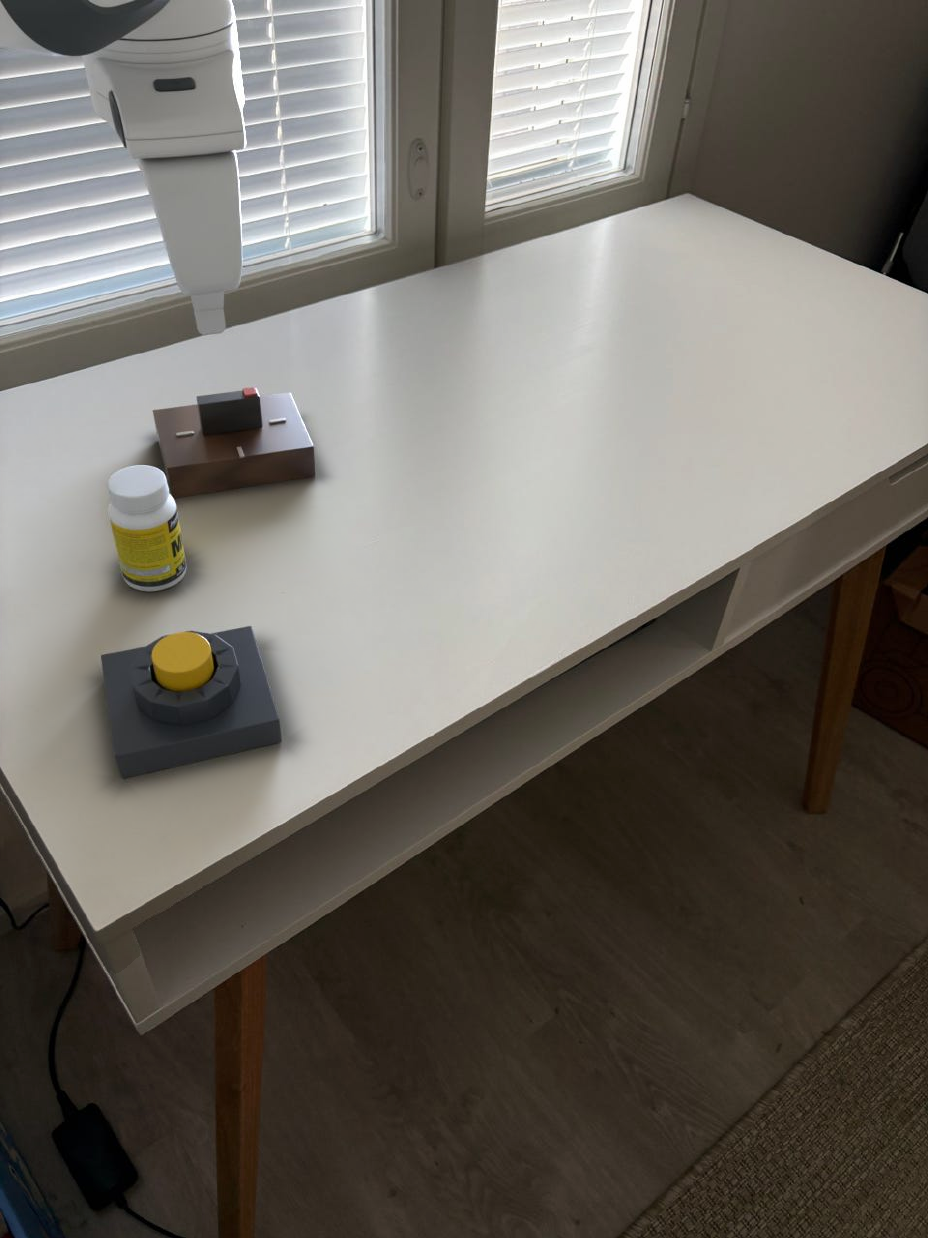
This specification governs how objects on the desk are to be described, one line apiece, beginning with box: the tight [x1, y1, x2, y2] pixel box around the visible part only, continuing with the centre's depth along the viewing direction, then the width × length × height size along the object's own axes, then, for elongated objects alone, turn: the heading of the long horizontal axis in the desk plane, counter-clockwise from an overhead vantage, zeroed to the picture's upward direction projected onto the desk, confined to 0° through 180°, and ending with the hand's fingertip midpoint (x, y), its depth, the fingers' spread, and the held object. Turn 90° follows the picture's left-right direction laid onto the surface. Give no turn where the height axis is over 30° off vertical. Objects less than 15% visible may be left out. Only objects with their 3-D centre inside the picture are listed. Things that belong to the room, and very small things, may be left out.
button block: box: [100, 625, 283, 779], centre depth 65 cm, size 10×9×4 cm
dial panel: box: [152, 391, 316, 499], centre depth 86 cm, size 12×9×3 cm
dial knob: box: [196, 386, 263, 435], centre depth 84 cm, size 5×1×3 cm, turn 110°
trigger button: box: [151, 631, 214, 692], centre depth 63 cm, size 4×4×2 cm
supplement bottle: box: [107, 464, 187, 593], centre depth 73 cm, size 5×5×8 cm
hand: (200, 296), depth 69 cm, fingers open, 8 cm apart
